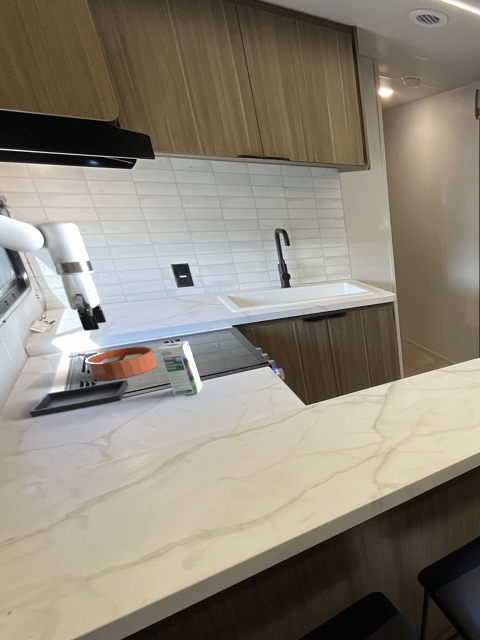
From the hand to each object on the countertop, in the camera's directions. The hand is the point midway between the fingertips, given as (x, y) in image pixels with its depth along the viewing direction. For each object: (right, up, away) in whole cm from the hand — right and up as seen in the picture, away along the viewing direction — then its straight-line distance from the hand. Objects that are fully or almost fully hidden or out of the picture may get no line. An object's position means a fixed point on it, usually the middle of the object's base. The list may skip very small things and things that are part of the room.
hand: (95, 326), depth 121 cm
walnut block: (-3, -14, +9) cm, 16 cm away
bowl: (0, -14, +10) cm, 17 cm away
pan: (+7, -22, -10) cm, 25 cm away
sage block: (+2, -13, +12) cm, 17 cm away
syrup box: (+32, -20, -4) cm, 38 cm away
